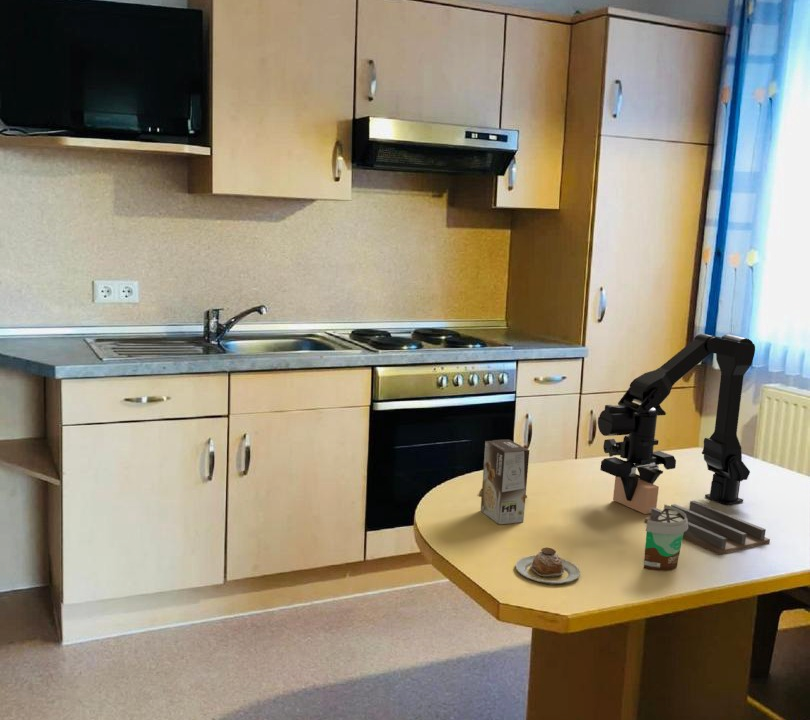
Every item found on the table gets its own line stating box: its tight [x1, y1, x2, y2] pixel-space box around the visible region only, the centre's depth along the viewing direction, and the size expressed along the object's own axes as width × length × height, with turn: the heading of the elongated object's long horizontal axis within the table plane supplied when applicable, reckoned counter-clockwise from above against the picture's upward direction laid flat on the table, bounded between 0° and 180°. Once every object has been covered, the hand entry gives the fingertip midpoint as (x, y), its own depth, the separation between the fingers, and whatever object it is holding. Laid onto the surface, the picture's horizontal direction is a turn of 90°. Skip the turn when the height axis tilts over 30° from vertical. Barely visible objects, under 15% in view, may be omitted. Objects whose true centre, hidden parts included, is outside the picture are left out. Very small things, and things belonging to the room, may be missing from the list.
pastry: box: [514, 547, 581, 586], centre depth 163 cm, size 12×12×5 cm
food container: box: [643, 504, 688, 572], centre depth 170 cm, size 12×6×10 cm, turn 148°
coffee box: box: [480, 439, 530, 525], centre depth 190 cm, size 9×6×16 cm
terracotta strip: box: [612, 476, 660, 515], centre depth 202 cm, size 4×10×6 cm, turn 32°
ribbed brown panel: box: [644, 500, 771, 556], centre depth 189 cm, size 16×20×3 cm
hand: (634, 499), depth 203 cm, fingers closed on terracotta strip, 3 cm apart
